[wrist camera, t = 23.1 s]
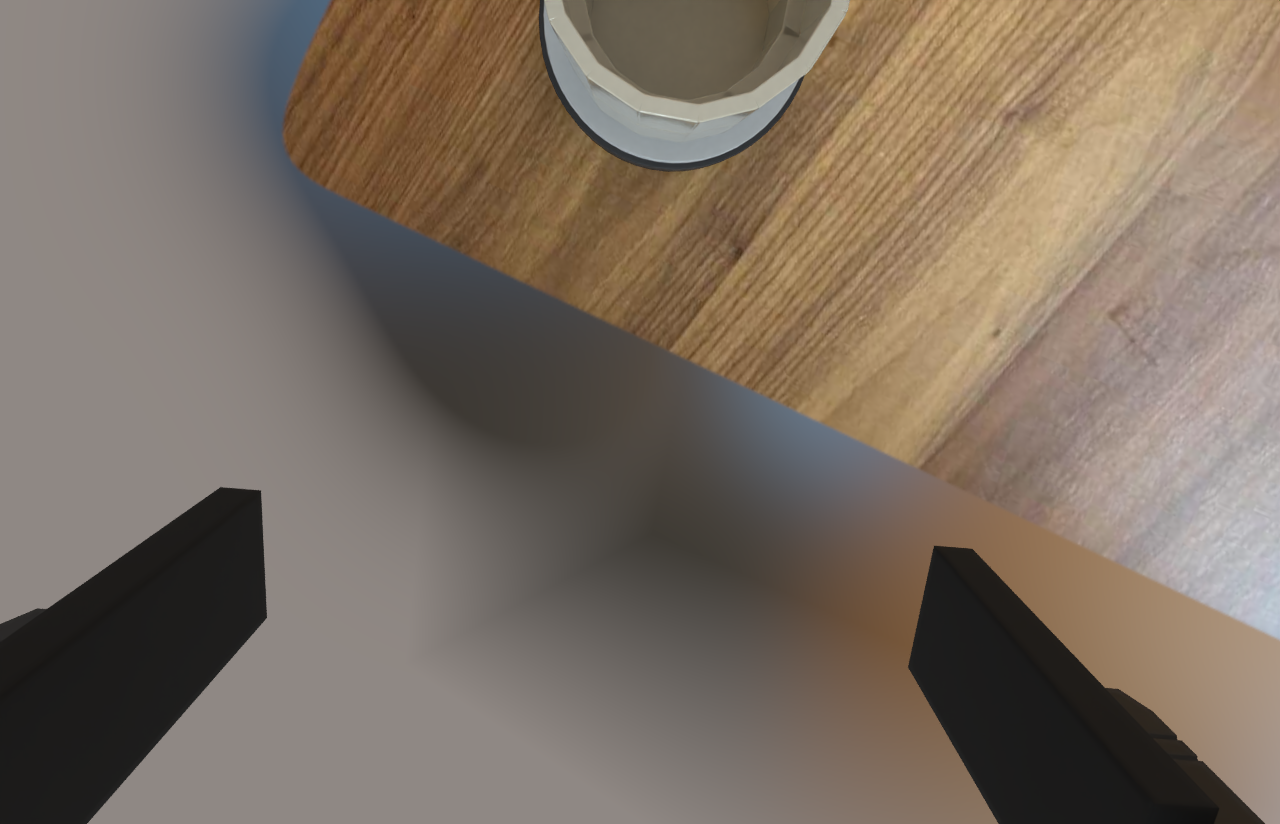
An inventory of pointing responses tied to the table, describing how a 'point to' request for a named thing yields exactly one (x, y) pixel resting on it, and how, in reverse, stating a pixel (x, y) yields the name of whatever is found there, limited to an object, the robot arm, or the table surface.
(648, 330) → the table surface
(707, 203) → the table surface
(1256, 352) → the table surface
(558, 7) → the faceted beige cup
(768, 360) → the table surface
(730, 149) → the scale
